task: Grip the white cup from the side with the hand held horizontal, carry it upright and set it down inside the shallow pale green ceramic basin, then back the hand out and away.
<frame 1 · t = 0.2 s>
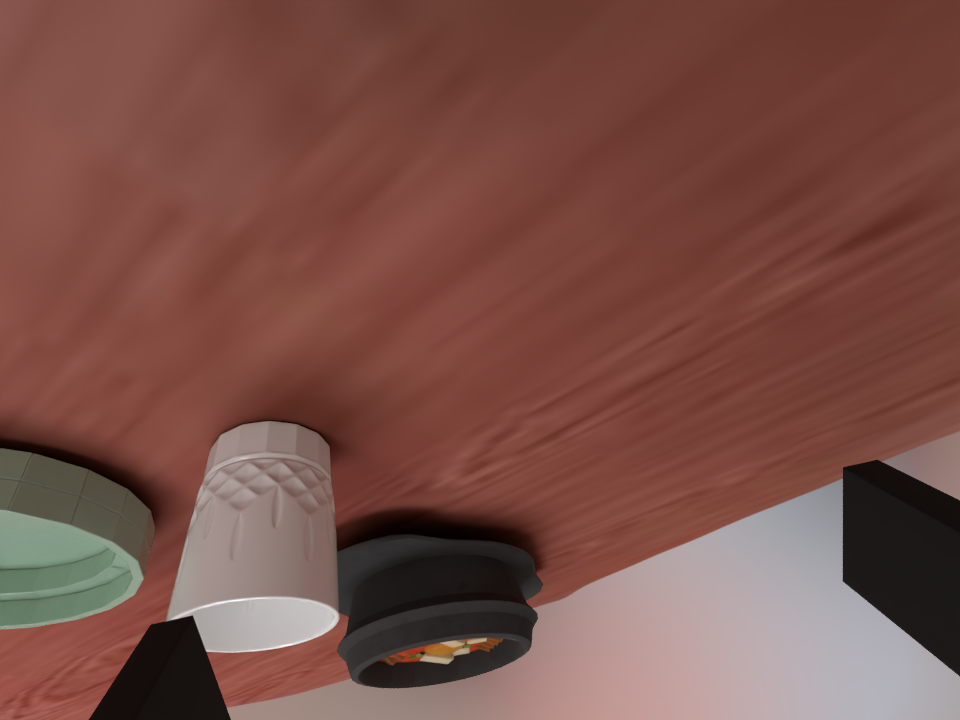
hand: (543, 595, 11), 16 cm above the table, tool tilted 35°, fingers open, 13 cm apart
casserole: (432, 562, 50), on the table
white cup: (273, 449, 33), on the table
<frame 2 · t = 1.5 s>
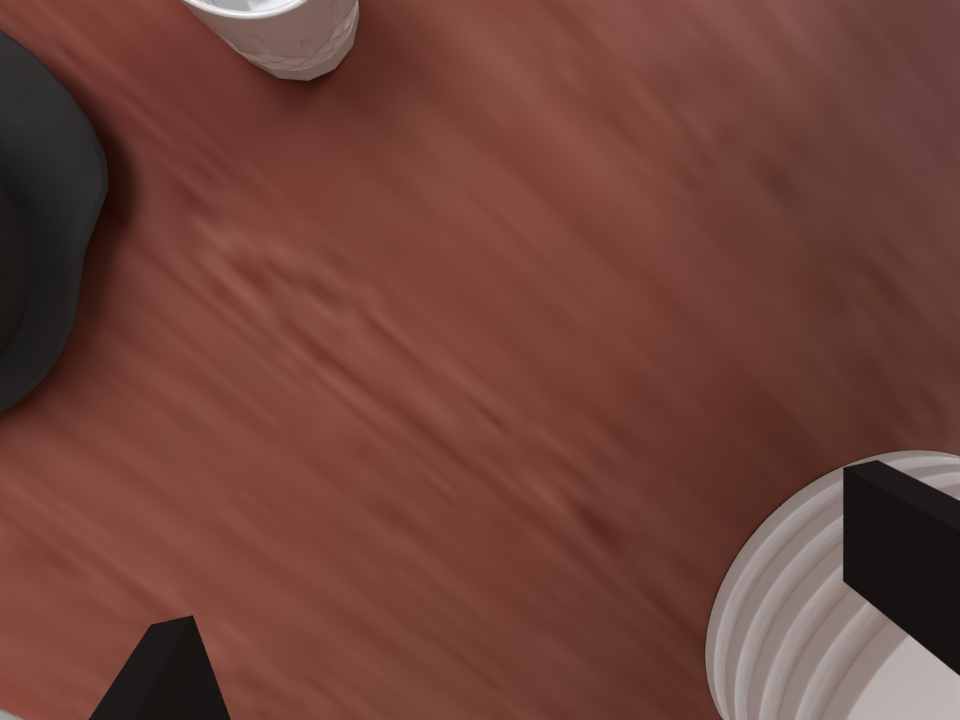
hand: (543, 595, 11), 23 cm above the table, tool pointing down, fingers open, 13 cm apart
plate stack: (874, 619, 42), on the table
white cup: (292, 12, 28), on the table
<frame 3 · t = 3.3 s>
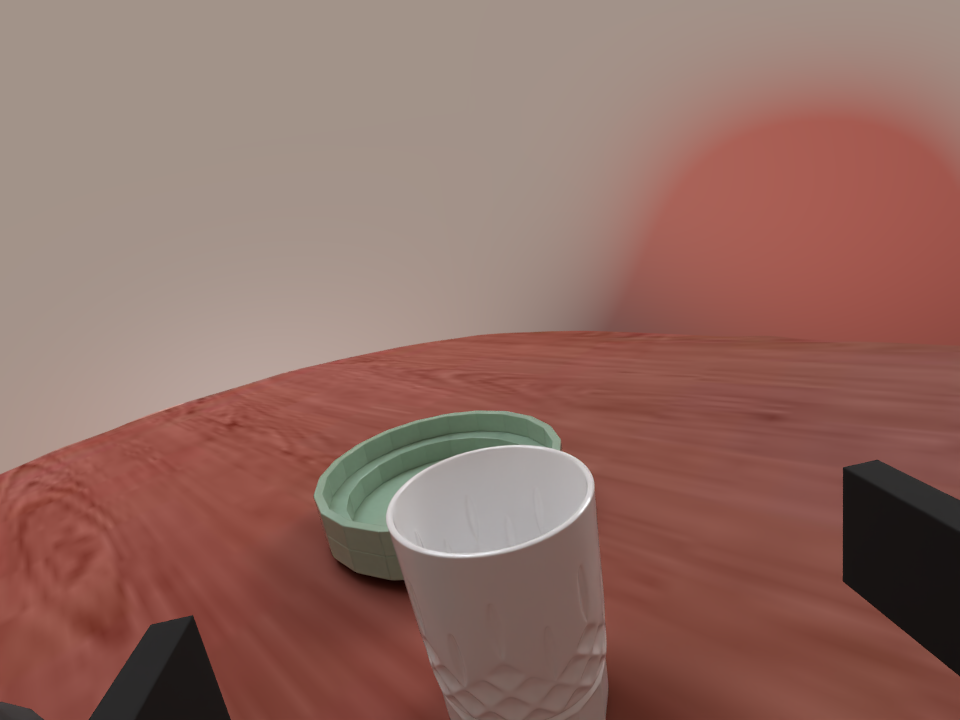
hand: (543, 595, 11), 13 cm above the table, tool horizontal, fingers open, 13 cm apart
basin: (449, 508, 39), on the table
white cup: (529, 701, 23), on the table
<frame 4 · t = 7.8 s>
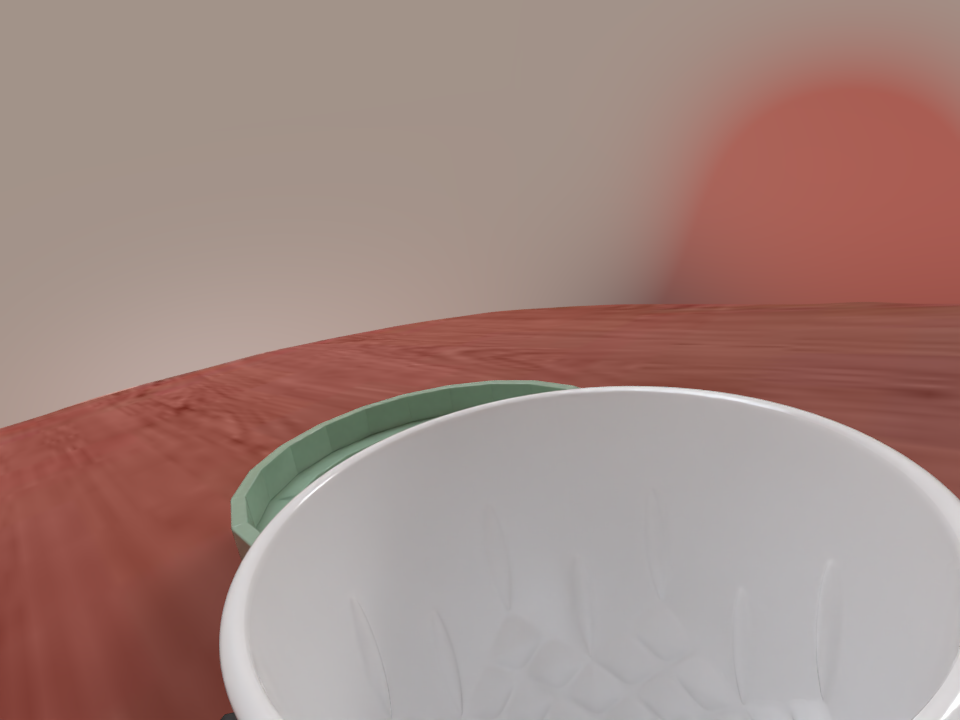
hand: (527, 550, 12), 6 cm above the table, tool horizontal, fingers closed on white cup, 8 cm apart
basin: (449, 521, 25), on the table
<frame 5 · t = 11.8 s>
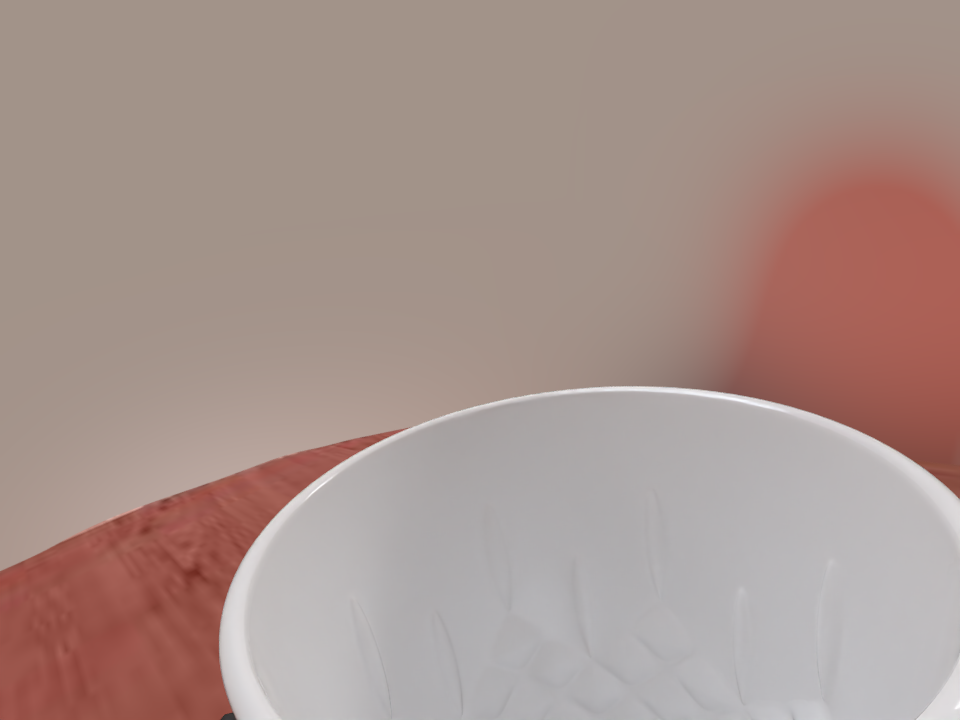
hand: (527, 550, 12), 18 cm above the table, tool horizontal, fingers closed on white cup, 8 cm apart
when the fingers open (7 cm above the table, at t = 16.1 s): white cup stays where it is, resting on basin.
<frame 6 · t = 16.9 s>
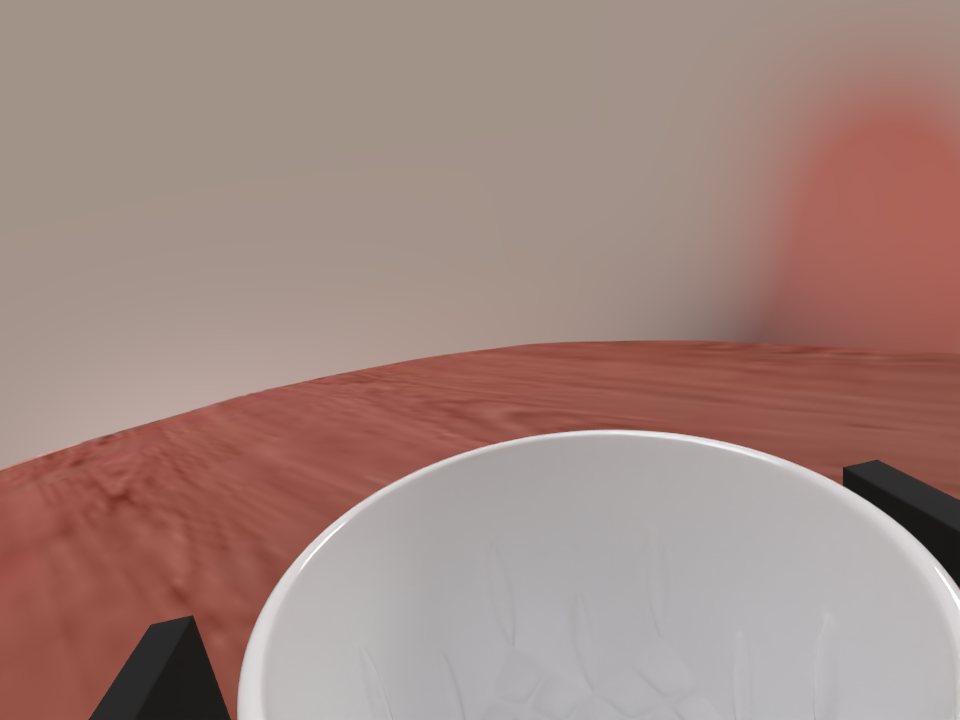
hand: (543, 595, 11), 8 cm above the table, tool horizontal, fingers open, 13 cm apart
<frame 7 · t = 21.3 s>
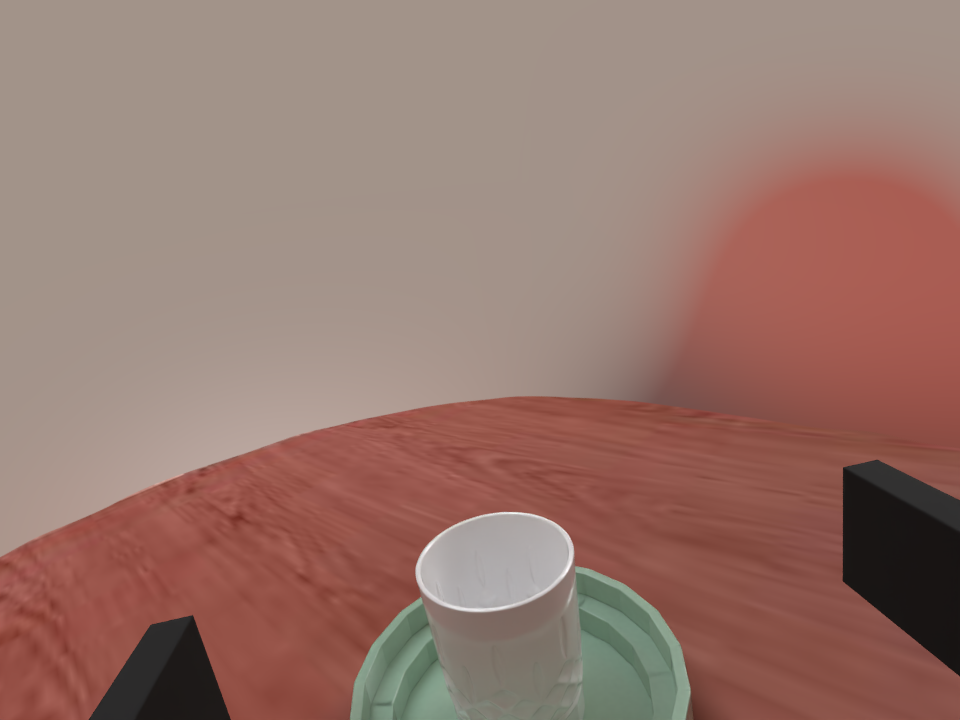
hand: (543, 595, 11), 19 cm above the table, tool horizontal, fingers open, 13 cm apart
white cup: (522, 716, 29), point 1 cm above the table, touching basin
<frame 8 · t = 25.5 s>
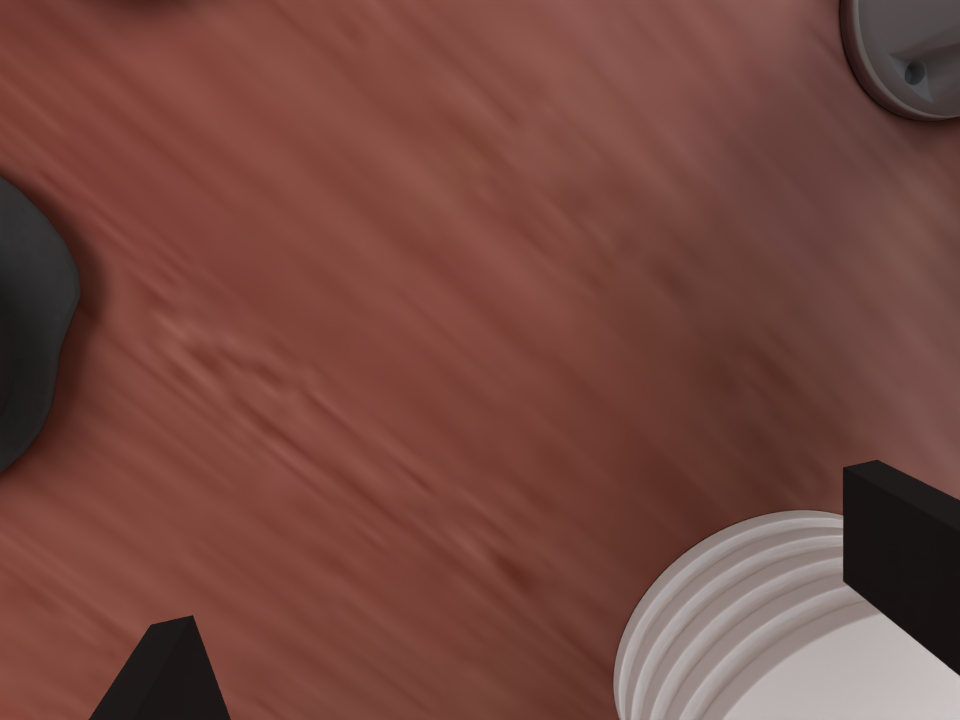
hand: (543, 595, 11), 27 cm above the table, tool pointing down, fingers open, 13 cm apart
plate stack: (768, 655, 47), on the table
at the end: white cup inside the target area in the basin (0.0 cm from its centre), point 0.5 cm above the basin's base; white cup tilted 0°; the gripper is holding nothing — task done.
